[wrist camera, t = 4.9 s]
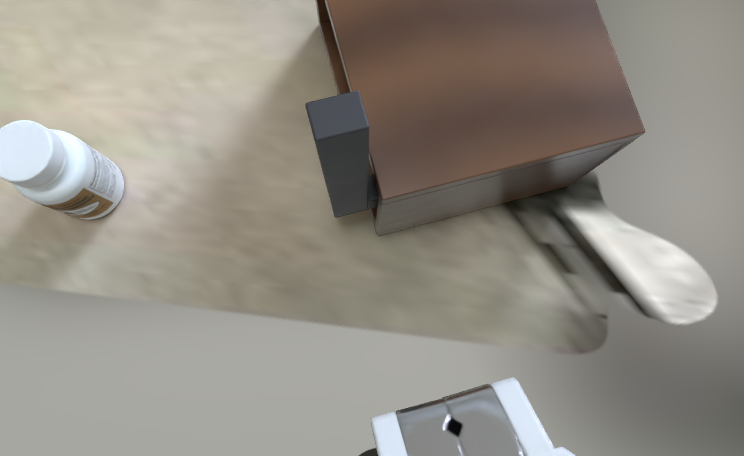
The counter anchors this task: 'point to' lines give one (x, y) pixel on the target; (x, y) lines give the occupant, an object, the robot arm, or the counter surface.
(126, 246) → the counter surface
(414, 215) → the cupboard
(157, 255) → the counter surface
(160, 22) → the counter surface
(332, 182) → the sliding door
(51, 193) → the pill bottle
